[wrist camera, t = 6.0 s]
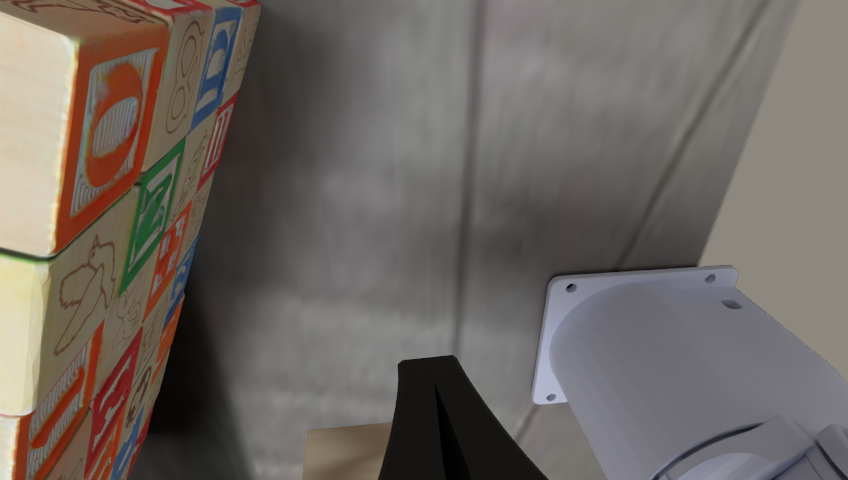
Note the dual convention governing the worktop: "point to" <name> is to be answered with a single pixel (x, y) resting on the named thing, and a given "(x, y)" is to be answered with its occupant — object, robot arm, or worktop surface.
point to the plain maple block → (346, 452)
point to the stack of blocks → (102, 213)
